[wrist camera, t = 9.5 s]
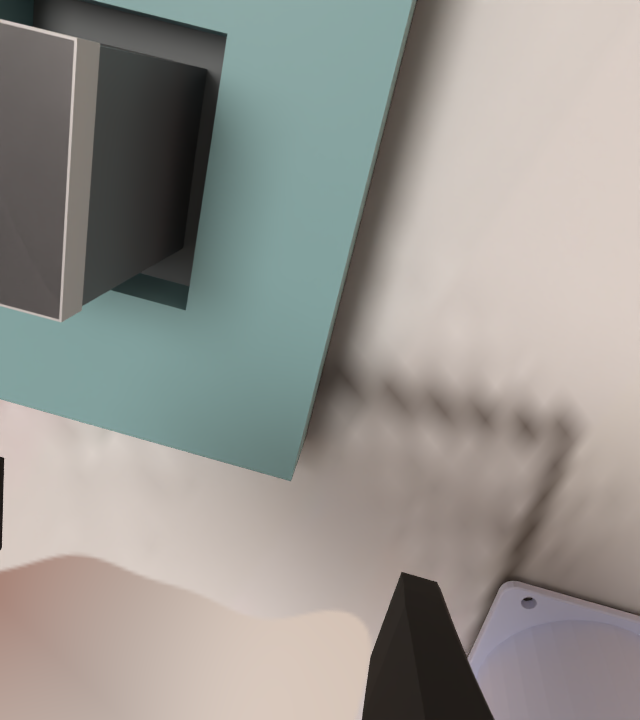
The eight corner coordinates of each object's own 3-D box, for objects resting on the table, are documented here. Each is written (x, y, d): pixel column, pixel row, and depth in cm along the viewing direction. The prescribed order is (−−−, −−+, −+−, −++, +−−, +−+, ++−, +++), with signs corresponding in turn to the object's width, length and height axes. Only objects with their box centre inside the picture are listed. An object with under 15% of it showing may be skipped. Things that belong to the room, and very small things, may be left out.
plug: (208, 67, 17) (77, 37, 10) (184, 250, 19) (61, 322, 12) (65, 32, 17) (-154, -19, 10) (56, 216, 19) (-132, 270, 12)
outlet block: (448, -122, 15) (454, -165, 12) (304, 441, 21) (291, 481, 19) (-98, -249, 15) (-189, -313, 13) (-79, 334, 22) (-138, 360, 19)
